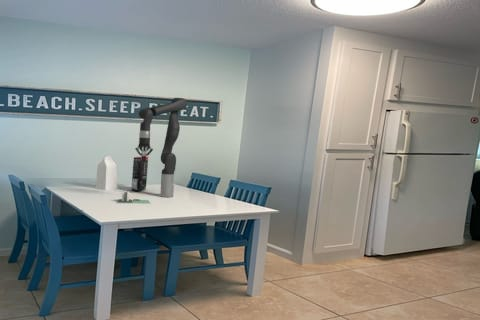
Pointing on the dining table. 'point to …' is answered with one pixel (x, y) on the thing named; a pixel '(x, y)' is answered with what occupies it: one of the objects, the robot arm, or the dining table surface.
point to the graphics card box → (139, 174)
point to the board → (133, 201)
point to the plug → (125, 196)
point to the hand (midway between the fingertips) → (143, 161)
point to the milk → (106, 174)
